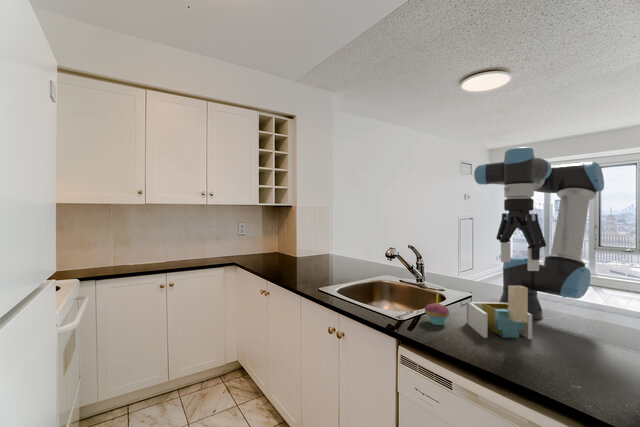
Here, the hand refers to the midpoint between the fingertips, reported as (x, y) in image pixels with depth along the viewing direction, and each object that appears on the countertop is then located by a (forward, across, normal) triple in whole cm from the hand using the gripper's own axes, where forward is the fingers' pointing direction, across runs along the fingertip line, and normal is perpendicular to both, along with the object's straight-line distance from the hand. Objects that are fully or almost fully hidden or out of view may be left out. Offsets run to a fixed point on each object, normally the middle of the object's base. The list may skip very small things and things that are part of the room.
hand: (518, 266), depth 89 cm
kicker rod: (+24, -2, 0) cm, 24 cm away
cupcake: (+25, -17, -20) cm, 36 cm away
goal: (+25, -11, 0) cm, 27 cm away
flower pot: (+25, -9, 0) cm, 26 cm away
